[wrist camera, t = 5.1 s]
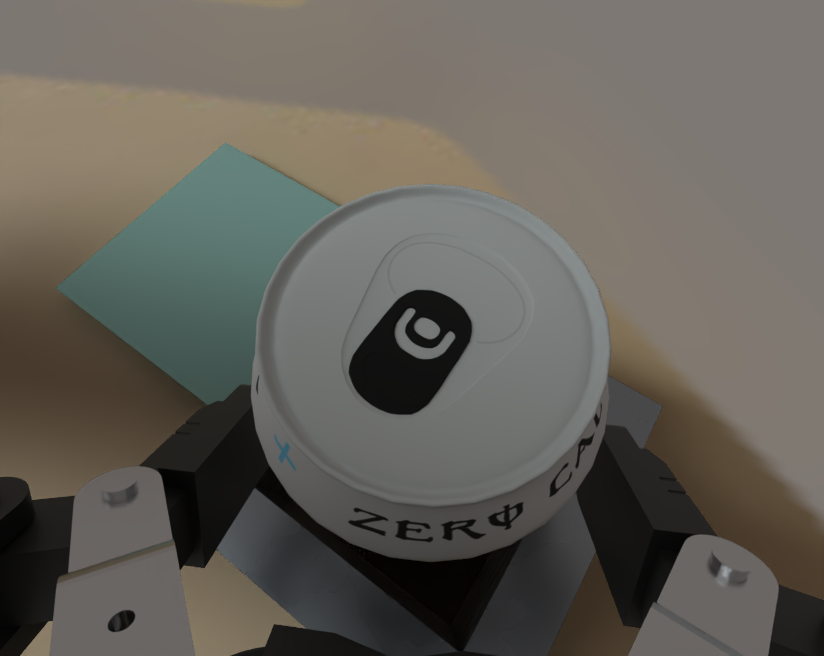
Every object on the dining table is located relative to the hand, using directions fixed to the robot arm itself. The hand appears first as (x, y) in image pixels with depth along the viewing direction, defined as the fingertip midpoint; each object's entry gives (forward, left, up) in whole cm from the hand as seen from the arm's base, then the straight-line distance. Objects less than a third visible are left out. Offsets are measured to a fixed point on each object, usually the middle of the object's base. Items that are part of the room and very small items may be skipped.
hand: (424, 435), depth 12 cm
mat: (-14, +3, -9) cm, 17 cm away
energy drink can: (0, 0, -9) cm, 9 cm away
